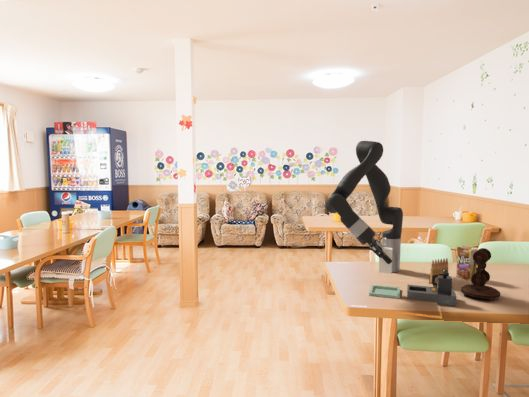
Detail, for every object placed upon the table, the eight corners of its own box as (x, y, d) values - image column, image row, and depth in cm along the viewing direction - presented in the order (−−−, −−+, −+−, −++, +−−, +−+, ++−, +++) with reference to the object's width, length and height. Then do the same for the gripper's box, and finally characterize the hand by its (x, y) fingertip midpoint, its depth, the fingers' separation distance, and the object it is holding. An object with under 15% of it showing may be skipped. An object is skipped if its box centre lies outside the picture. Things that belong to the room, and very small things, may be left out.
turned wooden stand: (465, 288, 179) (467, 244, 177) (503, 295, 170) (505, 249, 168) (456, 296, 168) (458, 250, 166) (496, 304, 158) (499, 255, 157)
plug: (379, 269, 172) (380, 247, 171) (391, 270, 170) (392, 247, 169) (379, 272, 168) (379, 249, 167) (391, 273, 166) (392, 249, 165)
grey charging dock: (407, 293, 172) (408, 263, 170) (453, 298, 166) (454, 267, 165) (407, 301, 162) (408, 269, 161) (456, 306, 156) (457, 273, 155)
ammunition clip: (432, 286, 182) (433, 260, 181) (428, 285, 184) (429, 259, 182) (448, 283, 186) (450, 258, 185) (445, 282, 188) (446, 257, 187)
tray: (371, 289, 177) (371, 284, 177) (399, 292, 174) (399, 287, 173) (369, 297, 166) (369, 293, 166) (399, 301, 162) (399, 296, 162)
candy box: (455, 276, 197) (456, 246, 196) (462, 276, 199) (463, 245, 197) (469, 281, 189) (470, 250, 188) (476, 281, 190) (478, 249, 189)
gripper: (366, 228, 163) (397, 259, 160) (369, 223, 176) (397, 252, 174) (353, 240, 165) (383, 271, 162) (357, 234, 179) (384, 263, 176)
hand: (390, 261), depth 168 cm, fingers closed on plug, 4 cm apart
